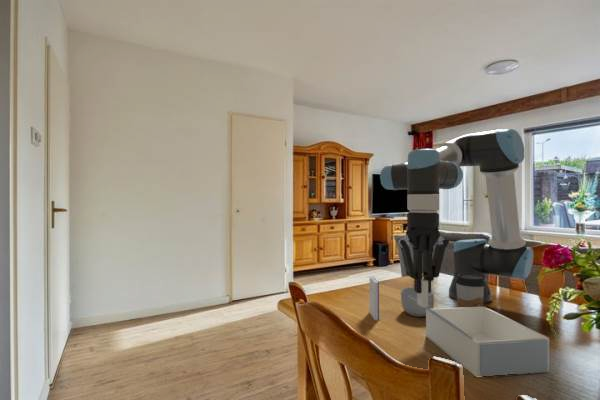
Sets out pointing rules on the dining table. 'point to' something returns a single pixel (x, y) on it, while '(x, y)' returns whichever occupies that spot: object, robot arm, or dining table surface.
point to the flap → (443, 319)
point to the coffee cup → (469, 290)
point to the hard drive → (374, 298)
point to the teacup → (411, 305)
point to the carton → (488, 341)
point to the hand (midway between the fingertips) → (422, 305)
